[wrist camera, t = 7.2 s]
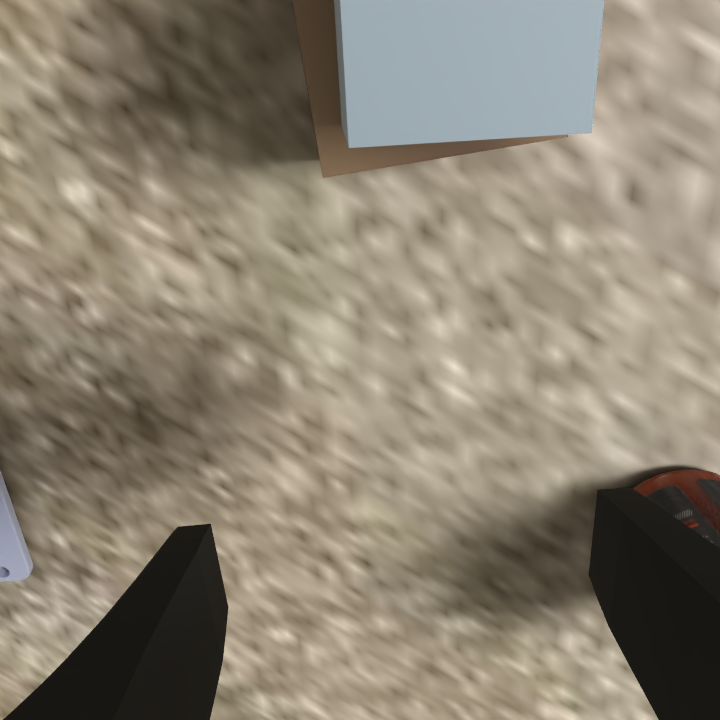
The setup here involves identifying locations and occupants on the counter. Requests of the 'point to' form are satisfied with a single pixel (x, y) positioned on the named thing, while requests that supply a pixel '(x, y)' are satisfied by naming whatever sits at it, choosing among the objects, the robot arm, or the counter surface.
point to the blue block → (466, 69)
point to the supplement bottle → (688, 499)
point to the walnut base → (324, 96)
